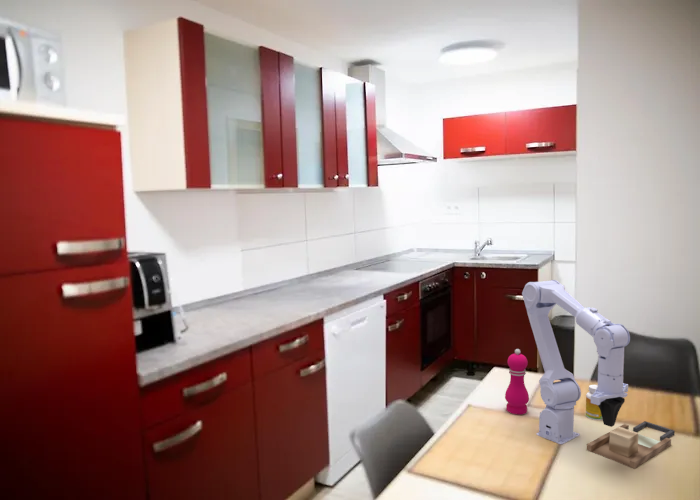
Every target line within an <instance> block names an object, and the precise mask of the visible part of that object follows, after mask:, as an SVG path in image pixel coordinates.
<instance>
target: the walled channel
mask: <svg viewBox="0 0 700 500" xmlns="http://www.w3.org/2000/svg"><path fill="white" fill-rule="evenodd" d="M629 425H630V424H626V423H624V424H622V425H620V426H619V427H622V428H624V429H627V430H630V429H629V428H630V426H629ZM611 431H612V430H611ZM611 431H609V432H607V433H605V434H603V435H601V436H599V437H598V438H596V439H593V440H591V441H590V442H588V443H587V444H586V451H588V452H591V453H592V454H595V455H598V456H601V457H604V458H605V459H609V460H611V461H614V462H616V463H619V464H622V465H623V466H625V467H626V466H627V467H629V468H631V469H634V470H635V469H637V468H638V467H640V466H641V465H643V464H644V463H646V462H647V461H649V460H650V459H652V458H653V457H655V456H657V455H658V454H660V453H662V451H664V450H666V449H667V448H669V447H670V446H672V438H665V439H664V440H662V441H660V440H657V439H654V438H652V437H649V436H645V435H643V434H640V433H638V452H636V453H635V454H633V455H631V456H630V457H626V456H624V455H621V454H618V453H616V452H613V451H610V450H609V440H610V432H611Z"/></svg>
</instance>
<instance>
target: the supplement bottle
mask: <svg viewBox="0 0 700 500" xmlns="http://www.w3.org/2000/svg"><path fill="white" fill-rule="evenodd" d="M597 387H598V384H590V385H588V391H587V393H586V394H585V417H586V418H587V419H590V420H593V421H603V419H602V415H601V411H600V409H599V406H598V405H596V404H593V403H591V395H593V394H594V392H595V390H596V388H597Z"/></svg>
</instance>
